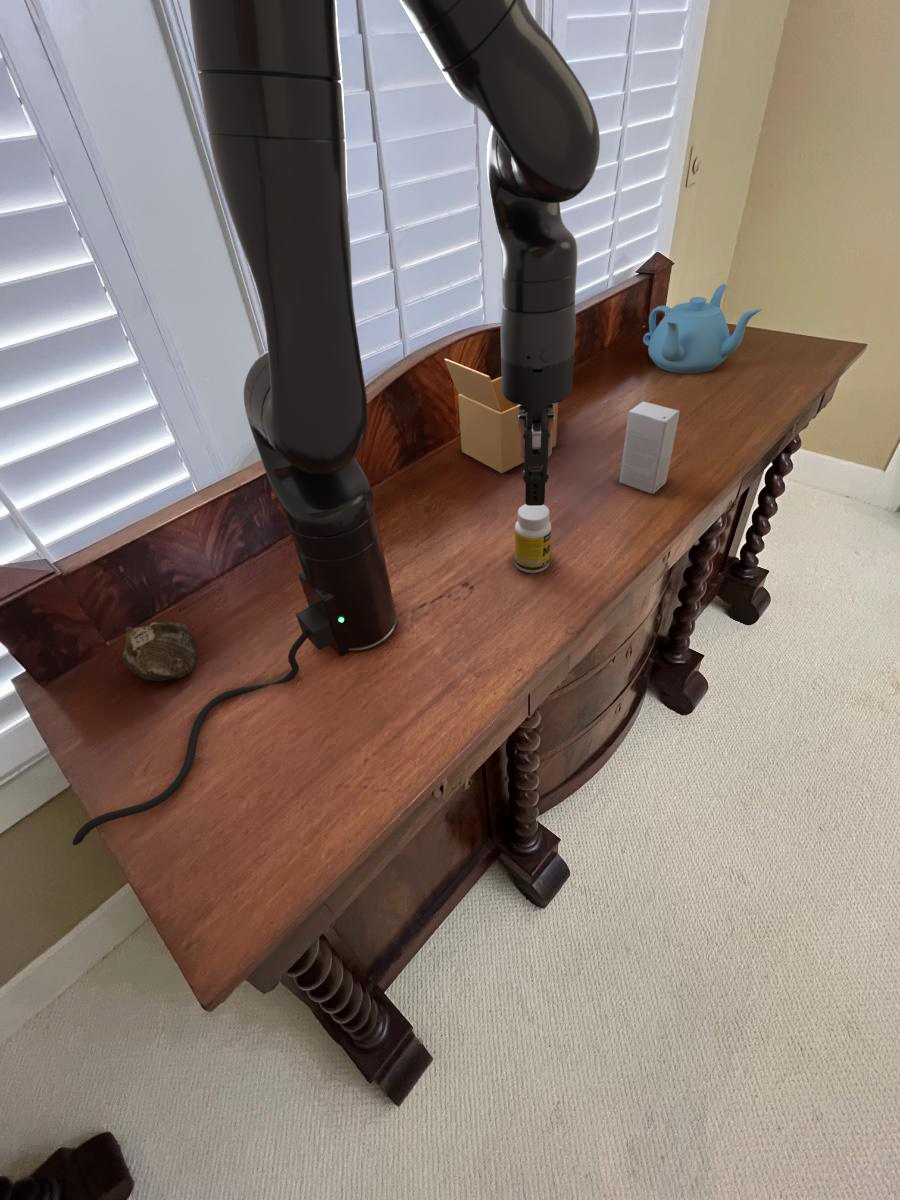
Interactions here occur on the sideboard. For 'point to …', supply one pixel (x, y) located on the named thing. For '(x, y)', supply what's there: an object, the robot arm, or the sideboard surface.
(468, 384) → the flap
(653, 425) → the cosmetic box
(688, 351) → the teapot
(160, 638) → the fossilized seashell
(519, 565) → the supplement bottle
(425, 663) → the sideboard surface
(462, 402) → the carton
